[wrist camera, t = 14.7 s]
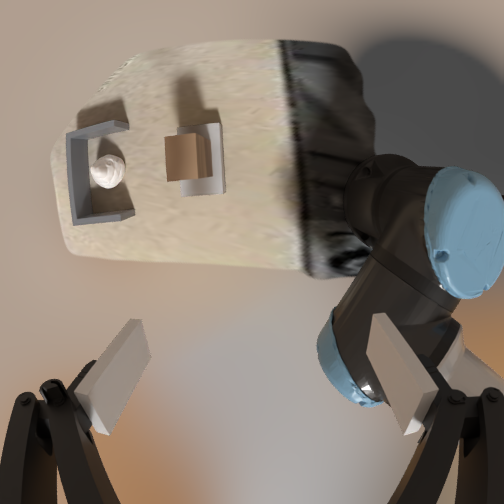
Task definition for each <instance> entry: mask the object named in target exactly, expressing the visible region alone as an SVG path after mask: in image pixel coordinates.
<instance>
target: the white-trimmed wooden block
mask: <svg viewBox="0 0 504 504" xmlns="http://www.w3.org/2000/svg"><path fill="white" fill-rule="evenodd" d="M165 156H166V172H167V182H169V181H178V180H180V188H181V197H187V196H199V195H213V194H224V193H225V192H226V185H225V169H224V151H223V131H222V125H221V124H220V123H210V124H201V125H193V126H185V127H178V128H177V135H175V136H168V137H165Z"/></svg>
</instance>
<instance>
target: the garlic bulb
mask: <svg viewBox="0 0 504 504" xmlns="http://www.w3.org/2000/svg"><path fill="white" fill-rule="evenodd" d="M90 171H91V174H92V177H93V179H94V180H95V182H96V183H97V184H99V185H100V186H101V187H104V188H113V187H115V186H116V185H117V184H118V183H119V182H120V181H121V180H122V178H123V176H124V173H125V164H124V161H123V160H122V159H121V158H119V157H117V156H114V155H105V156H104V157H101V158H99V159H98V160H97V161H96V162H95V163H94V164H93V166H92V167H91V168H90Z"/></svg>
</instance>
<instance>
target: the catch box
mask: <svg viewBox="0 0 504 504" xmlns="http://www.w3.org/2000/svg"><path fill="white" fill-rule="evenodd" d="M125 130H129V124H128V123H125V122H121V121H117V120H111V121H107V122H103V123H100V124H96V125H92V126H89V127H86V128H82V129H79V130H76V131H73V132H69V133H66V157H67V175H68V187H69V197H70V206H71V214H72V221H73V226H76V225H86V224H95V223H105V222H115V221H122V220H125V219H127V218H129V217H132V216H134V215H135V209H130V210H121V211H112V212H103V213H95V214H93V210H92V201H91V192H90V180H89V166H88V144H87V140H88V139H92V138H96V137H100V136H104V135H108V134H112V133H116V132H121V131H125Z"/></svg>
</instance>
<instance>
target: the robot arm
mask: <svg viewBox="0 0 504 504" xmlns="http://www.w3.org/2000/svg"><path fill="white" fill-rule="evenodd" d="M343 206H344V213H345V217H346V220H347V223H348V225H349V227H350V229H351V230H352V232H353V233H354V234H355V236H356V237H357V238H358V239H359V240H361V241H362V242H363V243H364V244H366V245H367V246H369V247H370V248H372V249H373V250H372V252H371V253H370V254H369V256H368V258H367V259H366V261H365V263H364V264H363V266H362V268H361V269H360V271H359V273H358V274H357V276H356V277H355V279H354V281H353V282H352V284H351V285H350V287H349V288H348V290H347V292H346V293H345V295H344V296H343V298H342V300H341V301H340V302H339V304H338V305H337V306H336V307H334V309H333V310H332V311H331V314H330V317H329V319H328V321H327V322H326V324H325V326H324V327H323V329H322V330H321V332H320V334H319V336H318V339H317V352H318V359H319V362H320V365H321V367H322V369H323V371H324V373H325V375H326V376H327V378H328V379H329V381H330V382H331V383H332V385H333V386H334V387H335V388H336V389H337V390H338V391H339V392H340V393H341V394H342V395H343V396H344V397H346V398H347V399H348V400H350V401H352V402H353V403H359V404H360V405H361V406H364V407H374V406H377V405H379V404H382V403H383V402H385V403H387V404H388V405H389V406H390V407H391V408H392V410H393V412H394V414H395V416H396V419H397V421H398V423H399V426H400V428H401V431H402V433H403V435H407V434H410V433H414V432H417V431H418V430H419V428H420V427H421V425H422V423H423V425H424V427H425V431H424V432H423V434H422V436H421V438H420V439H419V441H418V443H419V444H418V446H417V449H416V451H415V453H414V455H413V458H412V459H411V461H410V464H409V465H408V467H407V470H406V471H405V474H404V475H403V477H402V479H401V481H400V483H399V485H398V486H397V488H396V490H395V492H394V493H393V495H392V497H391V498H390V500H389V502H388V503H387V504H436V503H437V501H438V498H439V496H440V494H441V491H442V489H443V486H444V484H445V481H446V479H447V476H448V473H449V471H450V468H451V465H452V462H453V459H454V455H455V452H456V449H457V446H458V444H459V465H458V479H457V489H456V498H455V504H504V379H503V378H501V376H499V375H498V374H497V373H496V372H495V371H494V370H493V369H491V368H490V367H489V366H488V365H487V364H485V363H484V362H483V361H482V360H481V359H480V358H478V357H477V356H476V355H475V354H474V353H472V352H471V351H470V350H469V349H468V348H466V346H465V345H464V340H463V328H462V325H461V324H459V323H458V322H457V321H456V320H454V319H453V318H452V317H451V314H452V313H453V311H454V310H455V308H456V307H457V305H458V304H459V302H460V300H461V299H471V298H475V297H478V296H480V295H481V294H482V292H483V290H488V289H489V288H490V287H491V286H492V285H493V284H494V283H495V281H496V279H497V278H498V276H499V275H500V273H501V270H502V268H503V266H504V201H503V198H502V196H501V194H500V192H499V191H498V189H497V188H496V186H495V185H494V184H493V183H492V182H491V181H490V180H489V179H488V178H487V177H485V176H484V175H482V174H480V173H477V172H474V171H470V170H466V169H463V168H459V167H456V166H450V167H426V166H418V165H417V164H415V163H414V162H413V161H411V160H409V159H407V158H405V157H403V156H399V155H394V154H383V155H376V156H373V157H370V158H368V159H366V160H365V161H363V162H362V163H360V164H359V165H358V166H357V167H356V168H355V170H354V171H353V172H352V174H351V175H350V177H349V179H348V181H347V184H346V187H345V191H344V198H343ZM150 359H151V354H150V350H149V347H148V343H147V339H146V335H145V332H144V328H143V324H142V320H139V319H130V320H129V321H128V322H127V324H126V325H125V326H124V327H123V328H122V330H121V331H120V332H119V334H118V335H117V336H116V337H115V339H114V340H113V341H112V342H111V343H110V345H109V346H108V347H107V349H106V350H105V351H104V353H103V354H102V355H101V356H100V357H99V359H98V360H92V361H91V362H89V363H88V364H87V365H85V367H84V368H83V369H82V370H81V372H80V373H79V374H78V377H76V378H75V379H74V381H73V382H72V383H71V385H70V386H69V387H68V389H67V390H66V389H65V387H64V385H63V383H62V381H60V380H58V379H51V380H48V381H46V382H44V383H43V384H42V385H41V387H40V390H39V391H40V393H41V395H42V397H43V398H44V400H37V398H36V397H35V395H34V394H33V393H31V392H24V393H22V394H20V395H19V396H18V397H17V398H16V400H15V403H14V407H13V410H12V414H11V417H10V421H9V425H8V429H7V433H6V438H5V442H4V447H3V452H2V457H1V463H0V504H57V466H58V471H59V474H60V478H61V482H62V485H63V489H64V492H65V496H66V499H67V502H68V504H121V503H120V501H119V499H118V498H117V495H116V493H115V491H114V489H113V487H112V485H111V483H110V480H109V478H108V476H107V473H106V471H105V468H104V466H103V463H102V461H101V458H100V456H99V453H98V450H97V447H96V445H95V442H94V439H93V436H92V433H91V432H90V430H89V429H90V427H91V426H92V425H93V426H94V428H95V430H96V431H97V432H99V433H102V434H106V435H110V434H111V432H112V430H113V429H114V427H115V425H116V423H117V421H118V419H119V417H120V415H121V413H122V411H123V409H124V407H125V405H126V404H127V402H128V400H129V398H130V396H131V394H132V392H133V390H134V389H135V387H136V385H137V383H138V381H139V379H140V377H141V375H142V373H143V372H144V370H145V368H146V366H147V365H148V363H149V361H150Z"/></svg>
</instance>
